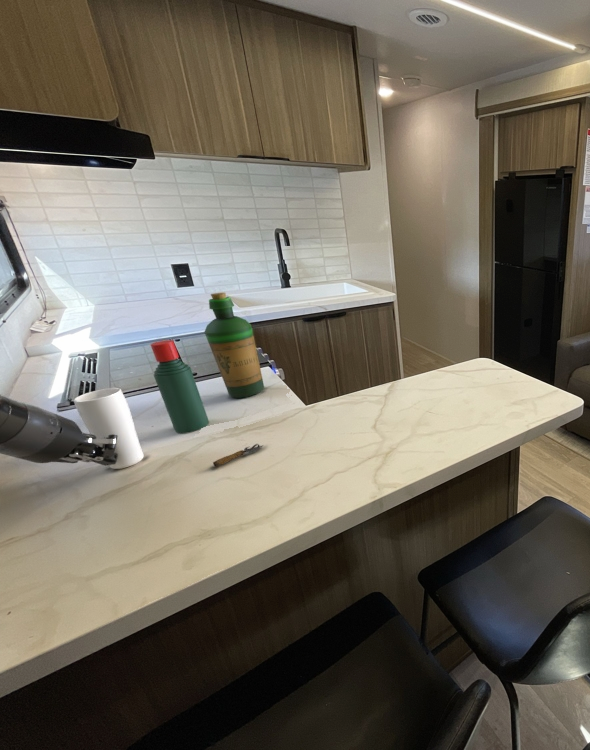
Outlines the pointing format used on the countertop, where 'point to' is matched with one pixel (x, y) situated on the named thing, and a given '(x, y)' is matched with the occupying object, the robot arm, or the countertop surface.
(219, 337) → the bottle
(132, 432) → the white cup
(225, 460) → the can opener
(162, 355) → the cap
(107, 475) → the countertop surface
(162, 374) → the bottle
